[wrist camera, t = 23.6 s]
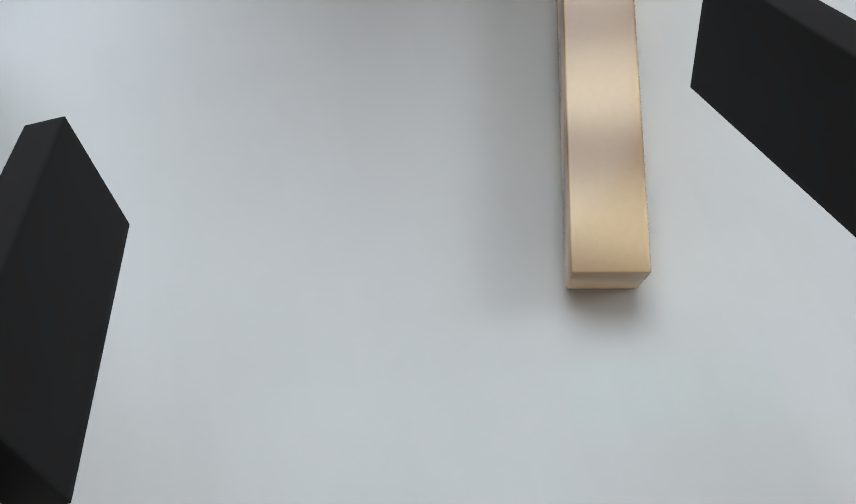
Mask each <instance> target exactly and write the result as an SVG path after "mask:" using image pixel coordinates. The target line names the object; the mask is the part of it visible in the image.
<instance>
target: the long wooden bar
mask: <svg viewBox="0 0 856 504" xmlns="http://www.w3.org/2000/svg"><path fill="white" fill-rule="evenodd" d="M557 12H558V47H559V83H560V118H561V153H562V188H563V224H564V259H565V287H566V288H567V289H608V288H638V287H639V285H640V284H641V283H642V282H643V281H644V280H645V279H646V278H647V276H648V275H649V274H650V273H651V260H650V244H649V228H648V212H647V196H646V180H645V164H644V148H643V132H642V116H641V100H640V84H639V69H638V53H637V37H636V21H635V5H634V0H557Z"/></svg>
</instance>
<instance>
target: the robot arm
mask: <svg viewBox="0 0 856 504" xmlns="http://www.w3.org/2000/svg"><path fill="white" fill-rule="evenodd" d="M690 87H691V88H692V89H693V90H694V91H695V92H696V93H697V94H699V95H700V96H701V97H702V98H703V99H704V100H705V101H706V102H707V103H708V104H710V105H711V106H712V107H713V108H714V109H715V110H716V111H717V112H718V113H719V114H721V115H722V116H723V117H724V118H725V119H726V120H727V121H728V122H729V123H730V124H732V125H733V126H734V127H735V128H736V129H737V130H738V131H739V132H740V133H741V134H743V135H744V136H745V137H746V138H747V139H748V140H749V141H750V142H751V143H752V144H754V145H755V146H756V147H757V148H758V149H759V150H760V151H761V152H762V153H763V154H765V155H766V156H767V157H768V158H769V159H770V160H771V161H772V162H773V163H774V164H776V165H777V166H778V167H779V168H780V169H781V170H782V171H783V172H784V173H785V174H787V175H788V176H789V177H790V178H791V179H792V180H793V181H794V182H795V183H796V184H798V185H799V186H800V187H801V188H802V189H803V190H804V191H805V192H806V193H807V194H809V195H810V196H811V197H812V198H813V199H814V200H815V201H816V202H817V203H818V204H820V205H821V206H822V207H823V208H824V209H825V210H826V211H827V212H828V213H829V214H831V215H832V216H833V217H834V218H835V219H836V220H837V221H838V222H839V223H840V224H842V225H843V226H844V227H845V228H846V229H847V230H848V231H849V232H850V233H851V234H853V235H854V236H855V237H856V20H854V19H852V18H850V17H848V16H846V15H845V14H843V13H841V12H839V11H837V10H836V9H834V8H832V7H830V6H828V5H827V4H825V3H823V2H821V1H819V0H703V2H702V9H701V16H700V23H699V30H698V37H697V44H696V51H695V58H694V65H693V72H692V79H691V86H690ZM128 229H129V223H128V221H127V219H126V218H125V216H124V214H123V213H122V211H121V209H120V208H119V206H118V204H117V203H116V201H115V199H114V198H113V196H112V194H111V193H110V191H109V189H108V188H107V186H106V184H105V183H104V181H103V179H102V178H101V176H100V174H99V173H98V171H97V169H96V168H95V166H94V164H93V163H92V161H91V159H90V158H89V156H88V154H87V153H86V151H85V149H84V148H83V146H82V144H81V143H80V141H79V139H78V138H77V136H76V134H75V133H74V131H73V129H72V128H71V126H70V124H69V123H68V121H67V119H66V118H65V116H64V117H60V118H56V119H51V120H47V121H43V122H38V123H34V124H30V125H26V126H24V128H23V130H22V132H21V134H20V136H19V138H18V141H17V143H16V145H15V147H14V149H13V151H12V153H11V155H10V157H9V159H8V161H7V163H6V165H5V167H4V169H3V171H2V173H1V175H0V503H1V504H69V503H71V500H72V496H73V491H74V486H75V481H76V477H77V472H78V467H79V462H80V457H81V453H82V448H83V443H84V438H85V434H86V429H87V424H88V419H89V415H90V410H91V405H92V400H93V396H94V391H95V386H96V381H97V377H98V372H99V367H100V362H101V358H102V353H103V348H104V343H105V338H106V334H107V329H108V324H109V319H110V315H111V310H112V305H113V300H114V296H115V291H116V286H117V281H118V277H119V272H120V267H121V262H122V258H123V253H124V248H125V243H126V238H127V234H128Z"/></svg>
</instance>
